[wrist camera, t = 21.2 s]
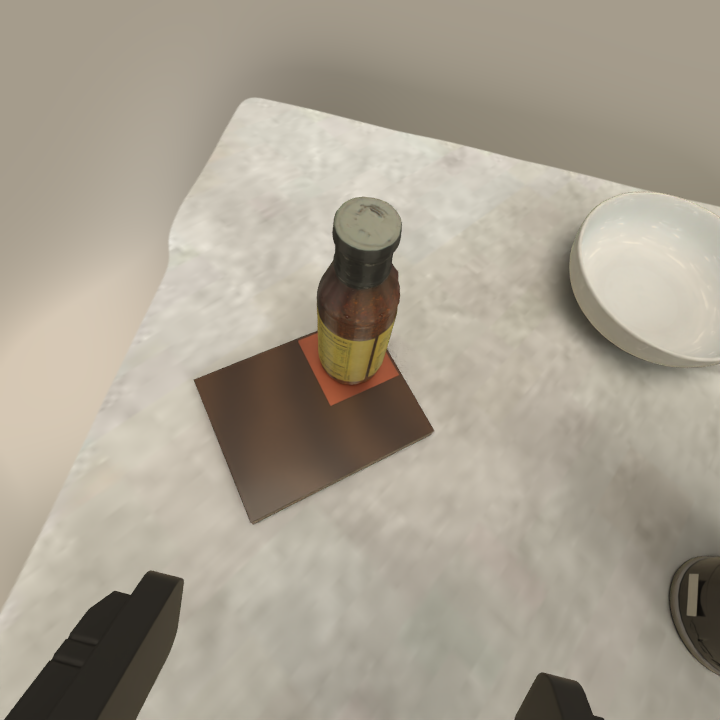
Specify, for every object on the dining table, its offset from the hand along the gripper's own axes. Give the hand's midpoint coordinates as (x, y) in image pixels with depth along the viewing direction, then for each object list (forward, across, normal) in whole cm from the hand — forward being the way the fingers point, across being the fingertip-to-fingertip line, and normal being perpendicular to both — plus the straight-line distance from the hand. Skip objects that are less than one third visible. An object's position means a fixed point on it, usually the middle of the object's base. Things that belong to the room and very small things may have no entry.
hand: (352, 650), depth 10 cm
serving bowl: (+47, -28, -5) cm, 55 cm away
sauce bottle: (+34, +3, +6) cm, 35 cm away
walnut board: (+32, +4, +11) cm, 34 cm away
